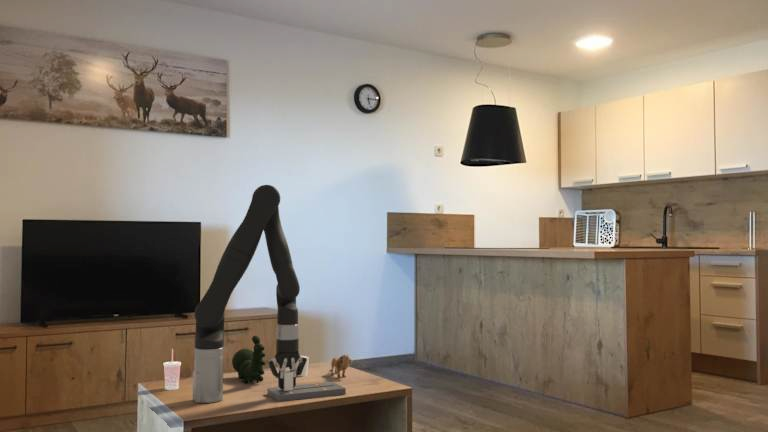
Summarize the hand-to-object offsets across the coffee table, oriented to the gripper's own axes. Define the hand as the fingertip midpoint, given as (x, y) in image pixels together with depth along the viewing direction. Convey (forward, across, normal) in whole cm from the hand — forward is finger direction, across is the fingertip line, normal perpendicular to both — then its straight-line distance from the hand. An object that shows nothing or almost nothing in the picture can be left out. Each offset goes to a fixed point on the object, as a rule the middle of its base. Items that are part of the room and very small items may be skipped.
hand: (287, 388), depth 225 cm
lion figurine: (+3, +29, +23) cm, 37 cm away
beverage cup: (+3, -33, +29) cm, 44 cm away
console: (+3, +7, 0) cm, 7 cm away
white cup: (+3, +16, +32) cm, 36 cm away
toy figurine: (+3, -5, +30) cm, 31 cm away
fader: (+3, 0, 0) cm, 3 cm away
